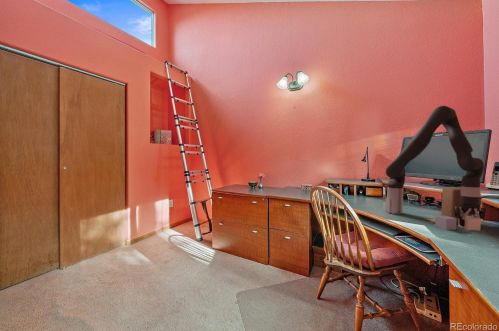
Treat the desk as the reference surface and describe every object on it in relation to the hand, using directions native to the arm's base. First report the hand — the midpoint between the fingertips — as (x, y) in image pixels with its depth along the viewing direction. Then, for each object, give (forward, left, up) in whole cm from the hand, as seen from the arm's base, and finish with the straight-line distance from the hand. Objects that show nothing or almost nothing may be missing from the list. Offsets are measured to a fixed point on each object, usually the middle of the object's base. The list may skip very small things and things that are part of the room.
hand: (469, 226), depth 119 cm
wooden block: (+2, +12, -1) cm, 12 cm away
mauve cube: (-12, -1, -1) cm, 12 cm away
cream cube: (0, 0, -1) cm, 1 cm away
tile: (-9, +11, -1) cm, 14 cm away
